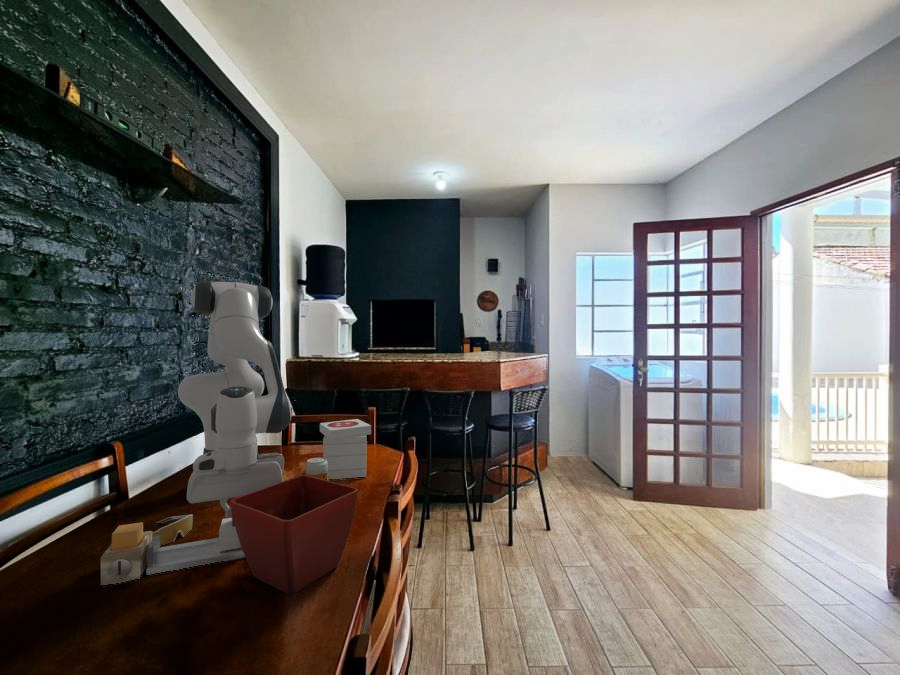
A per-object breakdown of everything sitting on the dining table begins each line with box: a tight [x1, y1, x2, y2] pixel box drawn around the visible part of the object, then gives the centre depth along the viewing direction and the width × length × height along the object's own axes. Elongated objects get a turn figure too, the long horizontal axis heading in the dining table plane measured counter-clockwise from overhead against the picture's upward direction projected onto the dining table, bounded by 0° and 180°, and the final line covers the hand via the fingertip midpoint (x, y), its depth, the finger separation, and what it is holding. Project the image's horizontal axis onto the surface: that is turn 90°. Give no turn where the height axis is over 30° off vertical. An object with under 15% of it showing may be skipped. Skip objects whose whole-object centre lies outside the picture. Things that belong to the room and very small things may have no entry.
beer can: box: [305, 456, 329, 481], centre depth 122 cm, size 6×6×15 cm
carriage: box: [218, 516, 241, 551], centre depth 99 cm, size 7×7×9 cm
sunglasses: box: [152, 513, 194, 547], centre depth 107 cm, size 14×15×5 cm
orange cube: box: [111, 521, 144, 551], centre depth 91 cm, size 4×4×4 cm
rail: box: [145, 535, 246, 576], centre depth 98 cm, size 8×25×6 cm, turn 113°
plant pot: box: [229, 474, 359, 595], centre depth 90 cm, size 19×19×17 cm
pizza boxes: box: [319, 418, 372, 480], centre depth 162 cm, size 19×30×18 cm, turn 11°
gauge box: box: [100, 530, 153, 586], centre depth 91 cm, size 11×6×6 cm, turn 23°
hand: (237, 514), depth 99 cm, fingers closed on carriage, 2 cm apart
